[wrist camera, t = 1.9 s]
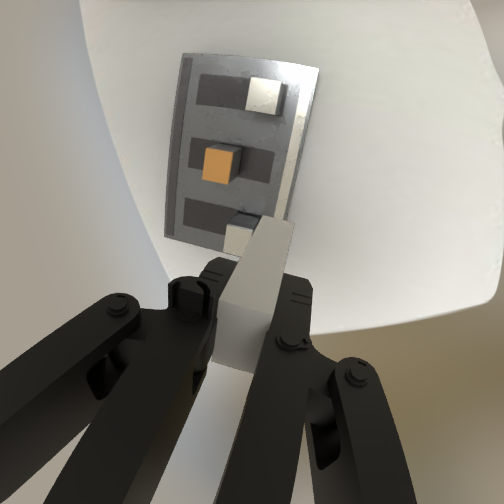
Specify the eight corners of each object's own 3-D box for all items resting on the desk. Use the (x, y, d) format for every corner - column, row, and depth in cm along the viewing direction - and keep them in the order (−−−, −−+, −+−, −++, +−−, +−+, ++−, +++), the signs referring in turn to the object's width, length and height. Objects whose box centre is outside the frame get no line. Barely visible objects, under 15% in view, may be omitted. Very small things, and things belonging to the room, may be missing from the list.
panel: (190, 56, 25) (164, 47, 20) (318, 71, 24) (319, 61, 19) (171, 230, 36) (148, 251, 31) (276, 257, 35) (268, 285, 29)
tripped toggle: (218, 143, 27) (205, 148, 24) (242, 147, 27) (232, 152, 24) (215, 171, 29) (202, 179, 26) (238, 175, 29) (227, 184, 25)
